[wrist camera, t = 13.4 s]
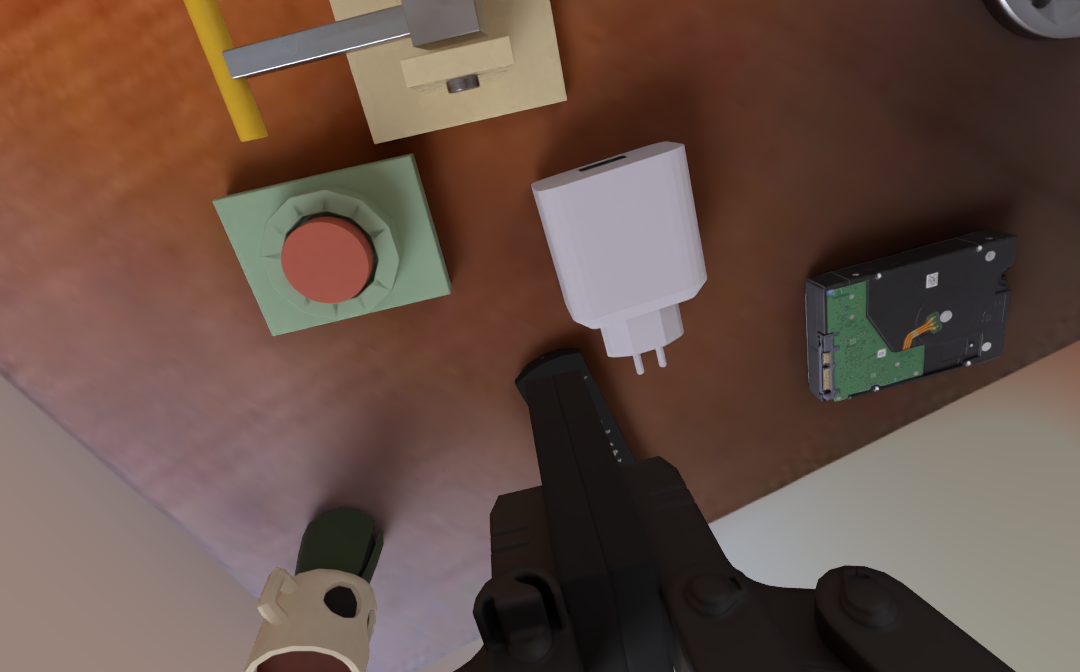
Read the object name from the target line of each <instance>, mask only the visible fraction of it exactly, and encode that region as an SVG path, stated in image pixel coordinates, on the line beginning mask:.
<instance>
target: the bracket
mask: <svg viewBox="0 0 1080 672" xmlns="http://www.w3.org/2000/svg"><path fill="white" fill-rule="evenodd" d="M329 1H330V4H331V7H332V10H333V14H334V17H335V20H336V21H340V20H344V19H348V18H351V17H355V16H359V15H363V14H367V13H371V12H374V11H378V10H382V9H386V8H390V7H394V6H397V5H401V4H402V3H401V0H329ZM482 4H483V9H484V13H485V18H486V23H487V27H488V32H489V36H486V37H482V38H478V39H474V40H470V41H466V42H462V43H457V44H453V45H449V46H445V47H441V48H437V49H433V50H425V49H420V48H416V47H413V44H412V40H411V38H408V39H404V40H400V41H396V42H392V43H388V44H384V45H380V46H376V47H372V48H368V49H364V50H360V51H356V52H352V53H348V54H346V55H347V58H348V61H349V65H350V68H351V71H352V74H353V77H354V81H355V84H356V87H357V90H358V93H359V97H360V100H361V103H362V106H363V109H364V113H365V116H366V119H367V122H368V125H369V129H370V132H371V135H372V138H373V141H374V144H378V143H382V142H387V141H391V140H396V139H400V138H404V137H409V136H413V135H418V134H422V133H426V132H431V131H435V130H440V129H444V128H448V127H453V126H457V125H461V124H466V123H470V122H475V121H479V120H483V119H488V118H492V117H497V116H501V115H505V114H510V113H514V112H519V111H523V110H527V109H532V108H536V107H541V106H545V105H549V104H554V103H558V102H562V101H566V100H567V96H566V91H565V85H564V79H563V73H562V67H561V61H560V56H559V50H558V44H557V38H556V32H555V26H554V21H553V15H552V9H551V3H550V0H482Z"/></svg>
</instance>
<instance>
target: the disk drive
mask: <svg viewBox="0 0 1080 672" xmlns="http://www.w3.org/2000/svg"><path fill="white" fill-rule="evenodd" d="M1016 242H1017V236H1016V235H1012V234H1008V233H1005V232H1001V231H996V230H991V229H987V230H985V231H981V232H980V231H978V232H974V233H970V234H966V235H963V236H959V237H955V238H952V239H948V240H945V241H941V242H937V243H933V244H930V245H927V246H923V247H919V248H916V249H912V250H908V251H905V252H901V253H898V254H895V255H891V256H887V257H883V258H879V259H875V260H872V261H868V262H864V263H861V264H857V265H853V266H849V267H846V268H842V269H838V270H835V271H831V272H827V273H824V274H821V275H818V276H815V277H812V278H807V279H806V297H805V298H806V327H807V351H808V376H809V384H810V392H812V393H813V394H814V395H815V396H816V397H817V398H818V399H820V400H821V401H822V402H824V401H827V400H834V401H840V400H843V399H846V398H848V399H854V398H857V397H860V396H865V395H867V394H870V393H873V392H877V391H881V390H885V389H888V388H892V387H896V386H899V385H903V384H906V383H909V382H914V381H918V380H922V379H924V378H927V377H931V376H935V375H939V374H942V373H946V372H949V371H952V370H957V369H960V368H964V367H967V366H971V365H977V364H980V363H983V362H986V361H989V360H992V359H994V358H998V357H1001V356H1002V353H1003V345H1004V337H1005V333H1004V331H1005V326H1006V320H1007V312H1008V307H1009V299H1010V289H1009V286H1008V285H1007V280H1006V276H1005V275H1004V274H1002V272H1004V271H1006V270H1007V269H1008V267H1009V266H1011V265H1012V264H1014V258H1015V249H1016Z"/></svg>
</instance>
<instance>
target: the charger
mask: <svg viewBox="0 0 1080 672" xmlns="http://www.w3.org/2000/svg"><path fill="white" fill-rule="evenodd" d="M531 187H532V190H533V194H534V197H535V201H536V204H537V207H538V211H539V214H540V218H541V221H542V225H543V228H544V232H545V235H546V238H547V242H548V245H549V249H550V252H551V256H552V259H553V263H554V266H555V269H556V273H557V276H558V280H559V283H560V287H561V290H562V293H563V297H564V300H565V304H566V306H567V308H568V310H569V312H570V314H571V316H572V318H573V320H574V321H576V322H578V323H580V324H582V325H584V326H587V327H589V328H591V329H598V328H601V332H602V336H603V340H604V343H605V347H606V351H607V355H608V356H609V357H623V356H633V358H634V362H635V366H636V370H637V374H643V373H644V369H643V364H642V360H641V356H640V354H641V353H644V352H647V351H650V350H653V349H656V353H657V357H658V362H659V366H660V367H665V366H666V365H667V364H666V359H665V355H664V350H663V346H665V345H668V344H669V343H671V342H672V341H674V340H675V339H677V338H679V337H680V336H682V334H683V333H684V330H683V325H682V320H681V315H680V310H679V305H678V303H680V302H683V301H686V300H689V299H691V298H693V297H695V295H696V294H697V293H698V291H699V290H700V289H701V287H702V286H703V284H704V283H705V282H706V280H707V275H706V269H705V264H704V258H703V252H702V246H701V240H700V234H699V229H698V223H697V217H696V211H695V205H694V199H693V194H692V188H691V182H690V176H689V170H688V164H687V159H686V153H685V147H684V144H680V143H674V142H668V141H665V142H659V143H655V144H652V145H648V146H645V147H641V148H638V149H635V150H632V151H629V152H626V153H622V154H619V155H616V156H613V157H610V158H607V159H604V160H601V161H597V162H594V163H591V164H588V165H585V166H582V167H579V168H576V169H572V170H569V171H566V172H563V173H560V174H557V175H554V176H551V177H548V178H545V179H542V180H540V181H537V182H535V183H533V184H531Z"/></svg>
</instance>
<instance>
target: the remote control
mask: <svg viewBox="0 0 1080 672" xmlns="http://www.w3.org/2000/svg"><path fill="white" fill-rule="evenodd" d="M579 368H580V369H581V372H582V374H583V377H584V379H585V382H586V384H587V387H588V389H589V392H590V394H591V397H592V399H593V402H594V404H595V407H596V409H597V412H598V414H599V417H600V419H601V422H602V424H603V427H604V429H605V432H606V434H607V437H608V439H609V442H610V444H611V447H612V449H613V452H614V455H615V457H616V460H617V462H618V465H623V464H627V463H631V462H636V461H635V459H634V457H633V455H632V453H631V451H630V449H629V447H628V445H627V443H626V441H625V439H624V437H623V435H622V433H621V431H620V429H619V427H618V426H617V424H616V422H615V420H614V418H613V416H612V414H611V412H610V410H609V408H608V406H607V404H606V402H605V400H604V398H603V396H602V394H601V392H600V390H599V388H598V386H597V384H596V382H595V380H594V379H593V377H592V375H591V373H590V371H589V369H588V367H587V365H586V363H585V361H584V359H583V357H582V355H581V353H580V351H579V349H558V350H555V351H552V352H549V353H546V354H544V355H541V356H540V357H538V358H537V359H535V360H534V361H532V362H531V363H529V364H528V365H527V366H526V367H525V368H524V370H523V371H522V372H521V373H520V375H519V376H518V377H517V378H516V380H515V384H516V386H517V388H518V390H519V391H520V393H521V395H522V397H523V398H524V400H525V402H526V403H527V405H528V401H527V395H526V389H525V384H524V381H527V380H532V379H536V378H540V377H544V376H549V375H553V374H557V373H562V372H566V371H570V370H574V369H579Z"/></svg>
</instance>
